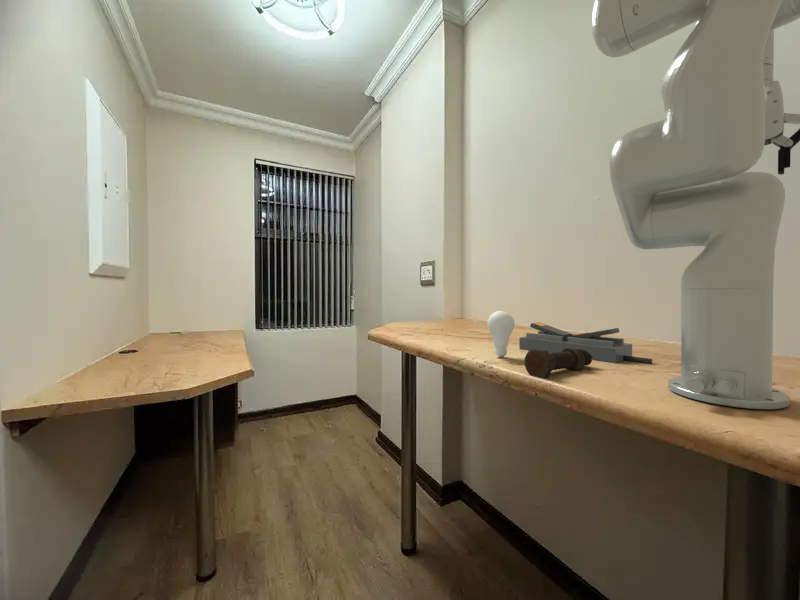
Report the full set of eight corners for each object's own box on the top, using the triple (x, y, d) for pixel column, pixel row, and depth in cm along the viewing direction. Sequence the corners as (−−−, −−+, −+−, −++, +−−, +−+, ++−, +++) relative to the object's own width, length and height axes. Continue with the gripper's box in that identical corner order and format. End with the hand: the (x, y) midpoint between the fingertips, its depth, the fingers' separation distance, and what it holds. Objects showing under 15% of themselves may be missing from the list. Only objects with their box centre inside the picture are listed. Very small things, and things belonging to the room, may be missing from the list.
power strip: (643, 367, 66) (643, 346, 66) (519, 348, 89) (519, 333, 89) (659, 360, 72) (659, 341, 72) (538, 344, 94) (538, 330, 94)
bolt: (589, 376, 68) (538, 385, 61) (569, 360, 72) (519, 366, 65) (604, 354, 65) (552, 360, 58) (583, 338, 69) (532, 342, 62)
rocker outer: (561, 340, 82) (563, 334, 82) (529, 327, 89) (531, 322, 89) (570, 338, 84) (571, 333, 84) (538, 326, 91) (539, 321, 91)
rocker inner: (612, 335, 73) (610, 328, 73) (572, 341, 80) (570, 335, 80) (620, 333, 75) (618, 327, 76) (580, 339, 82) (578, 333, 83)
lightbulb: (482, 356, 81) (482, 310, 80) (504, 354, 83) (504, 309, 82) (497, 360, 75) (496, 312, 75) (520, 358, 77) (519, 311, 76)
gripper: (679, 101, 66) (678, 188, 67) (818, 53, 53) (816, 161, 54) (687, 113, 71) (686, 194, 72) (816, 71, 58) (814, 171, 59)
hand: (742, 180), depth 63 cm, fingers open, 9 cm apart
